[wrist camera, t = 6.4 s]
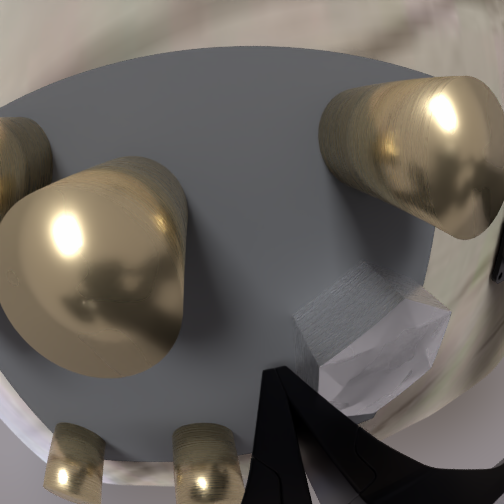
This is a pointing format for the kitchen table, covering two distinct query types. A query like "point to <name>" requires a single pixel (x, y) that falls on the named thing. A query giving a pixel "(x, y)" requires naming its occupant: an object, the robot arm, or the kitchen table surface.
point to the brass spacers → (174, 247)
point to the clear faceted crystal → (368, 338)
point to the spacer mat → (217, 228)
